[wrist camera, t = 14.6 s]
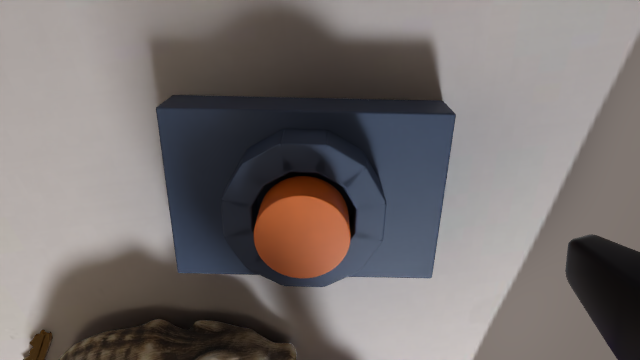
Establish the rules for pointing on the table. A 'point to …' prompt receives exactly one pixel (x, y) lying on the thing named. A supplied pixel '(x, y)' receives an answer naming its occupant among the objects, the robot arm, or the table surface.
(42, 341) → the key
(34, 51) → the table surface
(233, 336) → the figurine
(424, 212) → the base
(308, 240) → the orange push button
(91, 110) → the table surface
